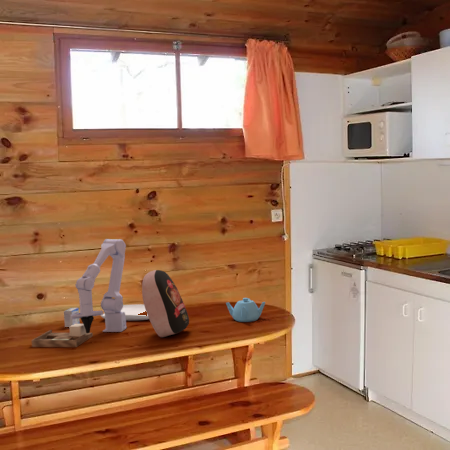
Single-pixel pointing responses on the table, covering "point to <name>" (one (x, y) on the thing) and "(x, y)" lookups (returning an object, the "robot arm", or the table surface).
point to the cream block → (77, 330)
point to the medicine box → (68, 320)
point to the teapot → (245, 310)
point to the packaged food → (163, 304)
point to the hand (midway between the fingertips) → (87, 332)
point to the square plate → (133, 312)
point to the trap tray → (59, 340)
